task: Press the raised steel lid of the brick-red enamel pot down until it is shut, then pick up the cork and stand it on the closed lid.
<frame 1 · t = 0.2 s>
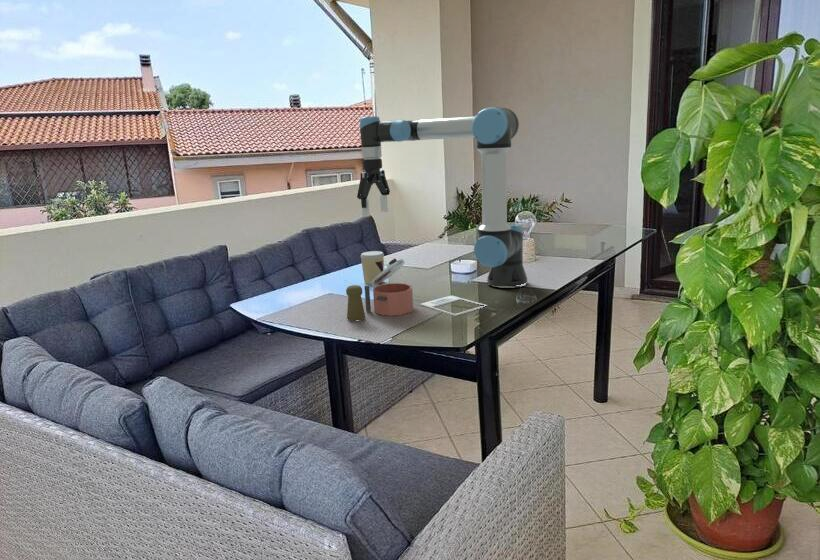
hand: (375, 214, 224), 28 cm above the table, tool pointing down, fingers open, 13 cm apart
lid: (376, 285, 195), point 8 cm above the table, hinge at 40.0°
pot: (393, 309, 193), on the table
photo frame: (453, 307, 195), on the table
cork: (356, 319, 186), on the table
coffee cup: (374, 282, 233), on the table
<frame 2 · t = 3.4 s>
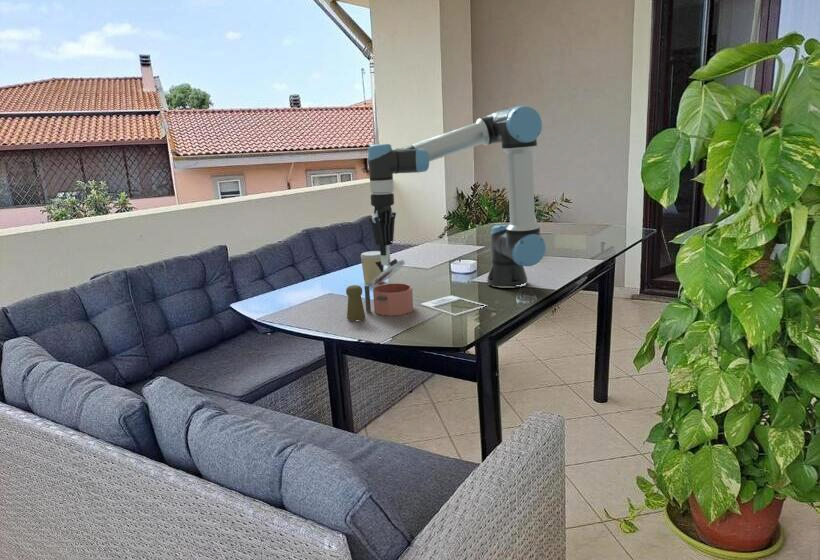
hand: (385, 264, 191), 16 cm above the table, tool pointing down, fingers closed
lid: (376, 285, 195), point 8 cm above the table, hinge at 38.8°, touching gripper
everything else where it was.
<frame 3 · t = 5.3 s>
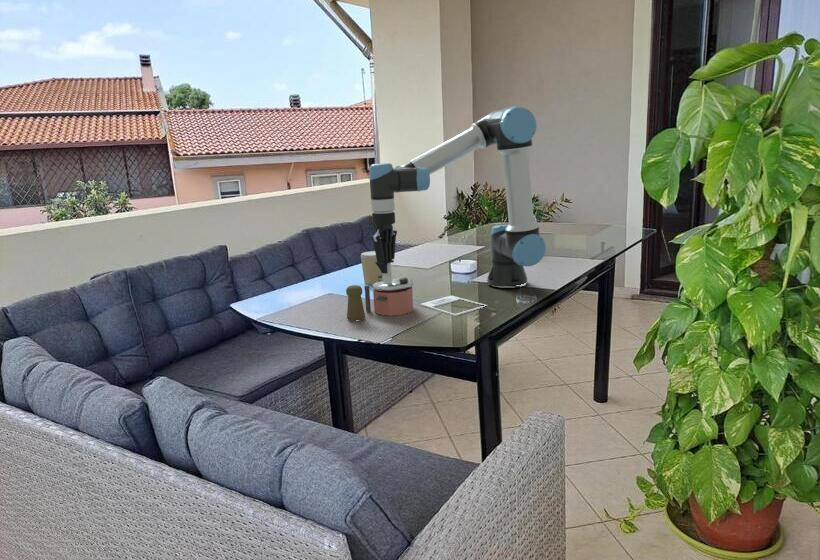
hand: (387, 282, 192), 10 cm above the table, tool pointing down, fingers closed
lid: (376, 285, 195), point 8 cm above the table, hinge at 3.6°, touching gripper
everything else where it was.
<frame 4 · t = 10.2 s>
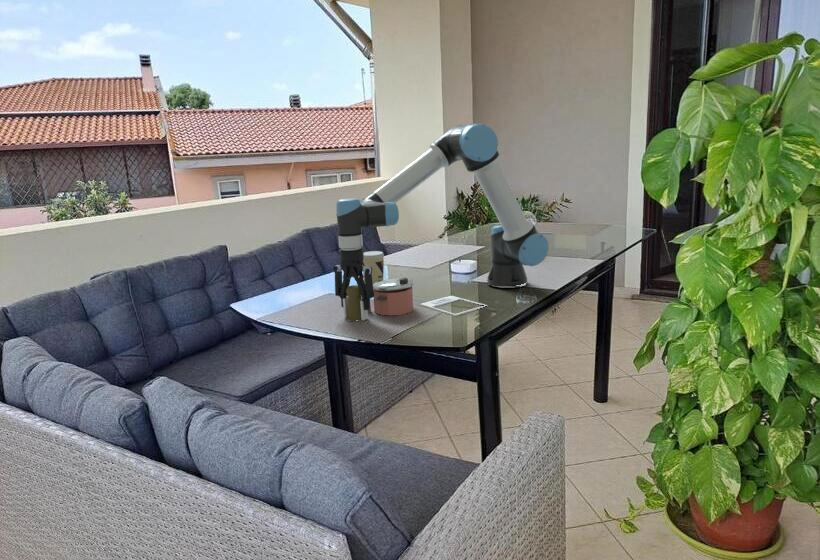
hand: (356, 317, 186), 0 cm above the table, tool pointing down, fingers closed on cork, 6 cm apart
lid: (376, 285, 195), point 8 cm above the table, hinge at 3.6°
cork: (356, 319, 186), on the table, touching gripper
everything else where it was.
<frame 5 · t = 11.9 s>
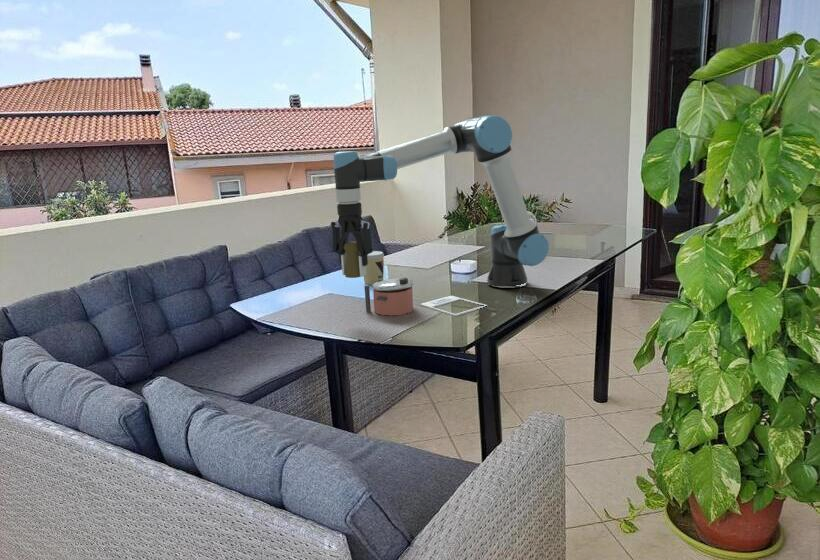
hand: (354, 274, 183), 15 cm above the table, tool pointing down, fingers closed on cork, 6 cm apart
cork: (354, 276, 183), point 14 cm above the table, touching gripper
everything else where it was.
when the fingers open (10 cm above the table, at t = 13.8 s): cork stays where it is, resting on lid.
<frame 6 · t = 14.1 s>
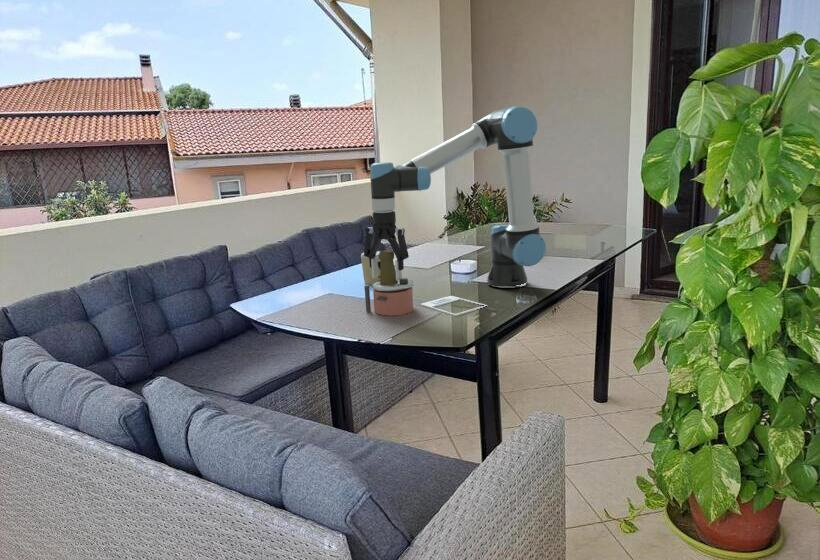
hand: (387, 278, 192), 11 cm above the table, tool pointing down, fingers open, 9 cm apart
lid: (376, 285, 195), point 8 cm above the table, hinge at 2.8°, touching gripper, cork
cork: (389, 283, 192), point 9 cm above the table, touching lid
everything else where it was.
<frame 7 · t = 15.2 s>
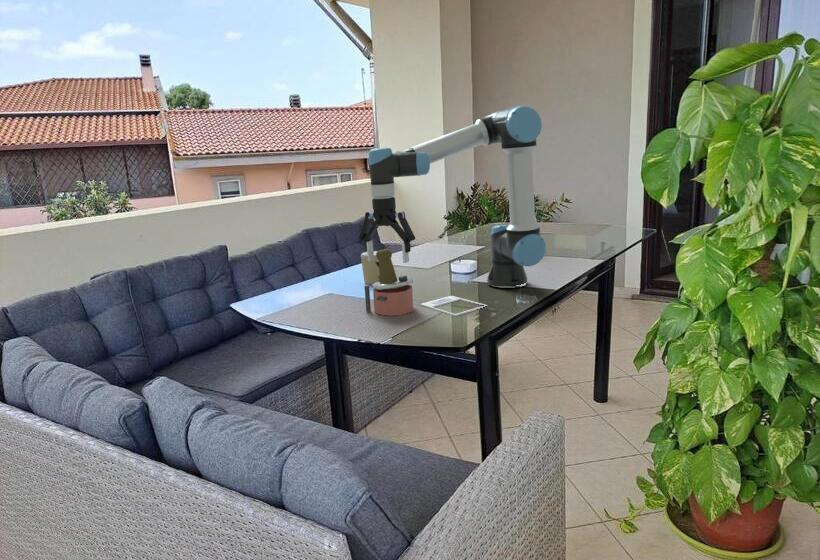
hand: (388, 261, 190), 17 cm above the table, tool pointing down, fingers open, 13 cm apart
lid: (376, 285, 195), point 8 cm above the table, hinge at 7.5°, touching cork
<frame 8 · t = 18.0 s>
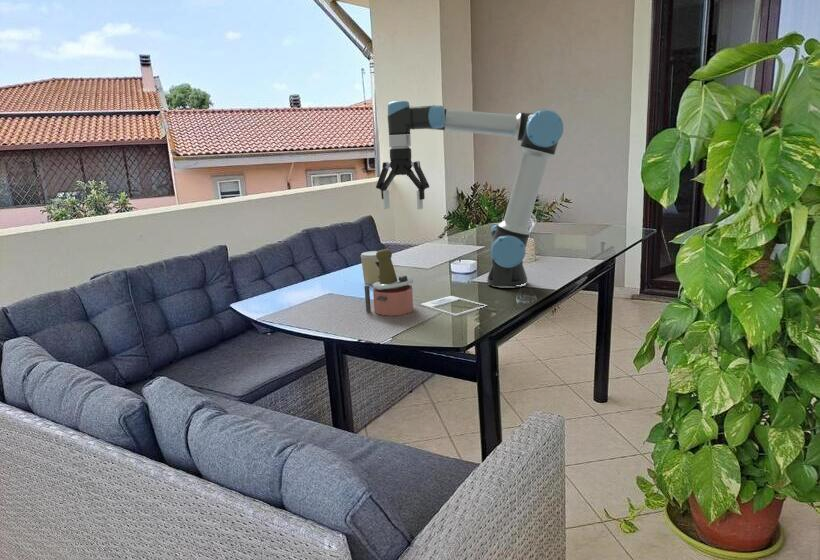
hand: (403, 208, 204), 32 cm above the table, tool pointing down, fingers open, 13 cm apart
nothing on the table moved.
at the end: lid at +8° (first picture: +40°); cork inside the target area on the pot (0.8 cm from its centre), point 9.5 cm above the pot's base; cork tilted 7° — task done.
